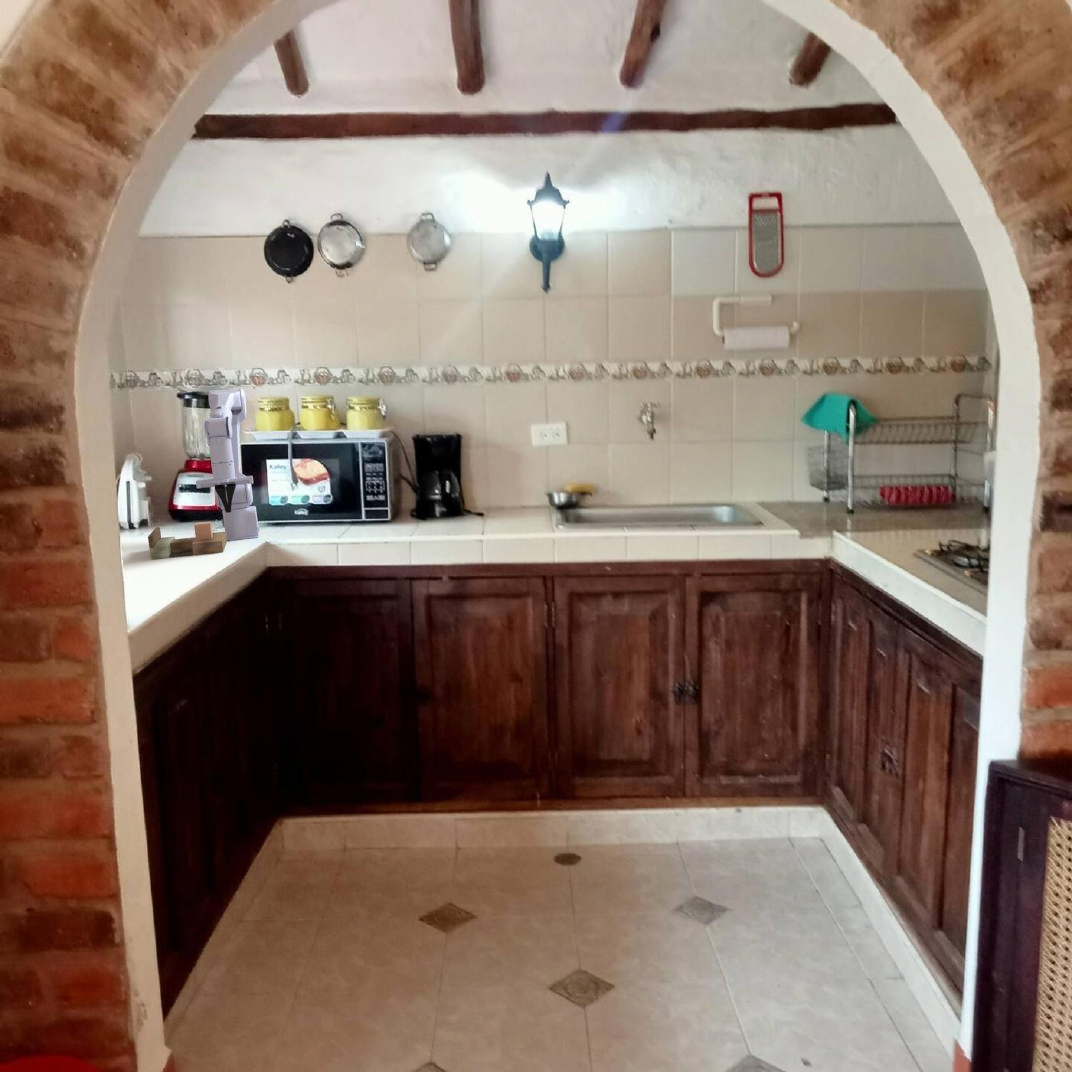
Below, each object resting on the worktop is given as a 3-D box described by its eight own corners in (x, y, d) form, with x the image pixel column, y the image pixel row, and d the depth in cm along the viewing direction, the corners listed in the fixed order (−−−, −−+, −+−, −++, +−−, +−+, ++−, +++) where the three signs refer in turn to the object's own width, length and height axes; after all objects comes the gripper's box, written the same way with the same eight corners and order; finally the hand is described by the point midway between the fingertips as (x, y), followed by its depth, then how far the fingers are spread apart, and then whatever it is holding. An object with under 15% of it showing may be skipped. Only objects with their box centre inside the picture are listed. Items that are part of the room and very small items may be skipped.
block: (212, 536, 258) (210, 521, 257) (211, 538, 254) (209, 523, 253) (197, 537, 257) (195, 523, 256) (196, 539, 253) (194, 525, 252)
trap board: (226, 541, 264) (224, 520, 263) (223, 552, 249) (220, 529, 248) (158, 548, 260) (155, 527, 259) (150, 559, 245) (147, 536, 244)
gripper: (192, 465, 248) (199, 516, 250) (249, 461, 251) (255, 511, 254) (195, 463, 254) (201, 513, 257) (250, 459, 258) (256, 508, 260)
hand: (228, 512), depth 256 cm, fingers closed
